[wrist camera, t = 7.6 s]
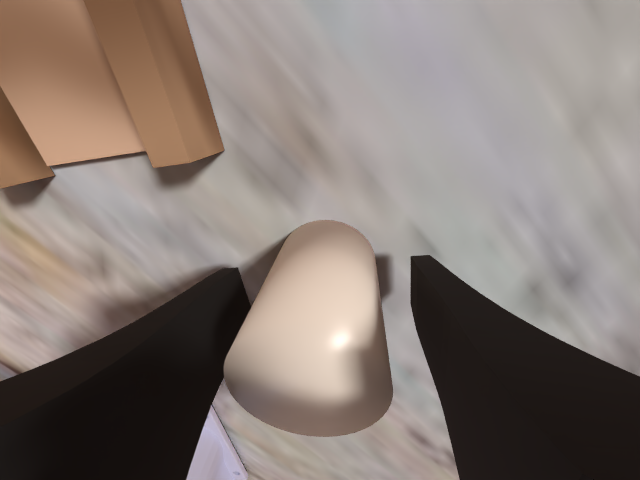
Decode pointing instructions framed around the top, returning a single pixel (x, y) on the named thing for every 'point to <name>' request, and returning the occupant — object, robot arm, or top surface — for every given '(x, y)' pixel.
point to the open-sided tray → (99, 85)
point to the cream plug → (315, 337)
